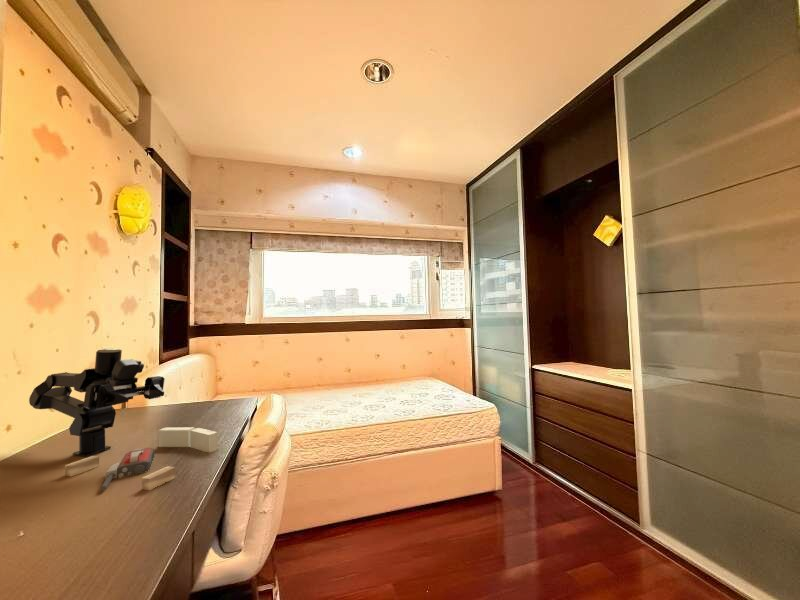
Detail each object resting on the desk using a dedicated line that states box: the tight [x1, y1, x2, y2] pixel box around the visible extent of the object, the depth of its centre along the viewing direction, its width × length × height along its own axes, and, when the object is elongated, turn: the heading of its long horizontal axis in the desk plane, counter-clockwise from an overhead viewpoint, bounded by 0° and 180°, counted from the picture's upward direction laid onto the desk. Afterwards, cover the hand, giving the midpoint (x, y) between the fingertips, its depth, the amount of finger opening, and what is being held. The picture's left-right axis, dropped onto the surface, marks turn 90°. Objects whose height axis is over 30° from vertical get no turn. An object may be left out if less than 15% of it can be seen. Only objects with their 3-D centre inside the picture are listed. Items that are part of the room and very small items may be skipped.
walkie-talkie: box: [100, 447, 155, 490], centre depth 86 cm, size 9×4×20 cm
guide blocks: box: [64, 455, 176, 491], centre depth 83 cm, size 30×6×2 cm, turn 71°
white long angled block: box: [158, 426, 219, 453], centre depth 102 cm, size 21×4×5 cm, turn 71°
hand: (146, 396), depth 92 cm, fingers open, 9 cm apart
